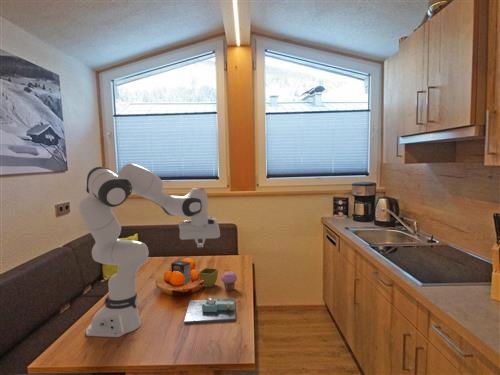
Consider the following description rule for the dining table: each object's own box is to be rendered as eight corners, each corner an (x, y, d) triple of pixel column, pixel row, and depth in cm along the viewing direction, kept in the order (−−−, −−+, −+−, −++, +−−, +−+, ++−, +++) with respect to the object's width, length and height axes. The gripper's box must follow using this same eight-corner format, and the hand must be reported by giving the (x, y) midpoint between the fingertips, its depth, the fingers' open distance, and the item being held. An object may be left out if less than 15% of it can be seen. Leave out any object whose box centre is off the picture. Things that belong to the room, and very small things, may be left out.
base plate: (184, 323, 145) (183, 310, 145) (189, 302, 167) (189, 291, 167) (235, 321, 147) (235, 307, 146) (234, 300, 169) (234, 288, 168)
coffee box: (171, 291, 183) (170, 263, 182) (179, 287, 189) (178, 259, 187) (184, 293, 179) (183, 265, 177) (191, 289, 184) (190, 261, 183)
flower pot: (212, 289, 184) (211, 273, 183) (198, 287, 187) (198, 272, 186) (218, 283, 192) (218, 268, 192) (205, 282, 195) (205, 267, 194)
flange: (202, 311, 154) (202, 305, 154) (205, 305, 161) (205, 298, 160) (232, 312, 152) (232, 305, 152) (234, 305, 159) (234, 299, 159)
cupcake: (222, 293, 178) (222, 275, 178) (220, 287, 187) (220, 270, 186) (238, 291, 180) (238, 274, 179) (236, 285, 189) (235, 268, 188)
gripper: (177, 222, 159) (178, 249, 160) (219, 220, 161) (220, 248, 162) (179, 219, 166) (180, 246, 167) (219, 218, 167) (220, 244, 168)
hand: (200, 247), depth 164 cm, fingers closed
